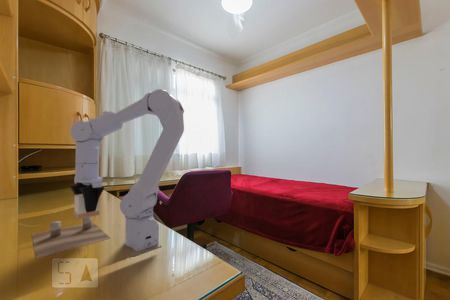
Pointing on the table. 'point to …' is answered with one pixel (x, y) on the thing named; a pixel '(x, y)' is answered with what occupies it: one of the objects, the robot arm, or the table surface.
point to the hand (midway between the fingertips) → (86, 209)
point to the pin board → (67, 238)
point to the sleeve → (83, 208)
